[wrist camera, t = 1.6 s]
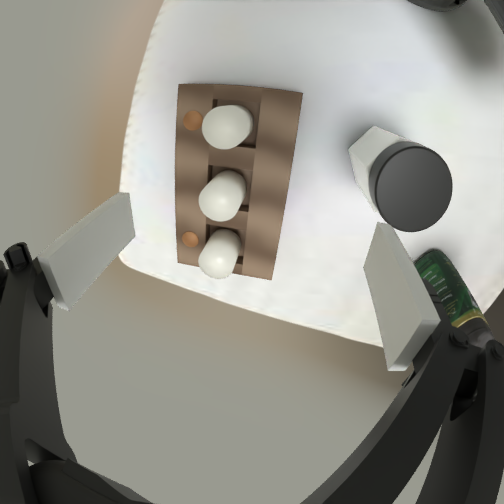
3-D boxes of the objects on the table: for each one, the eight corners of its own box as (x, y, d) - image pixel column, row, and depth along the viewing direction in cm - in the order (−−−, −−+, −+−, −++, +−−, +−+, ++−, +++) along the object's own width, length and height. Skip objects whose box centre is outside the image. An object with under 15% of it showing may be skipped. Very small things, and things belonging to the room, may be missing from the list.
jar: (375, 203, 33) (403, 251, 23) (334, 159, 31) (352, 191, 21) (421, 162, 29) (468, 194, 19) (383, 113, 27) (425, 124, 17)
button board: (188, 84, 28) (177, 83, 26) (302, 93, 27) (302, 93, 25) (184, 252, 42) (177, 263, 39) (273, 268, 41) (271, 281, 38)
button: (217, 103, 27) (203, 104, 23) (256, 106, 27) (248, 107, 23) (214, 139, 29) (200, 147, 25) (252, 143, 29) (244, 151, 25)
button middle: (212, 168, 31) (199, 180, 27) (248, 172, 31) (240, 186, 27) (211, 201, 34) (198, 218, 30) (245, 206, 33) (237, 224, 29)
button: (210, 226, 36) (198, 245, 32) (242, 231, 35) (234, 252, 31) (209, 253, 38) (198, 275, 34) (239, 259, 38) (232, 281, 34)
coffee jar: (399, 273, 38) (435, 371, 22) (435, 240, 34) (491, 330, 18) (426, 301, 40) (459, 389, 24) (459, 273, 36) (504, 357, 20)
